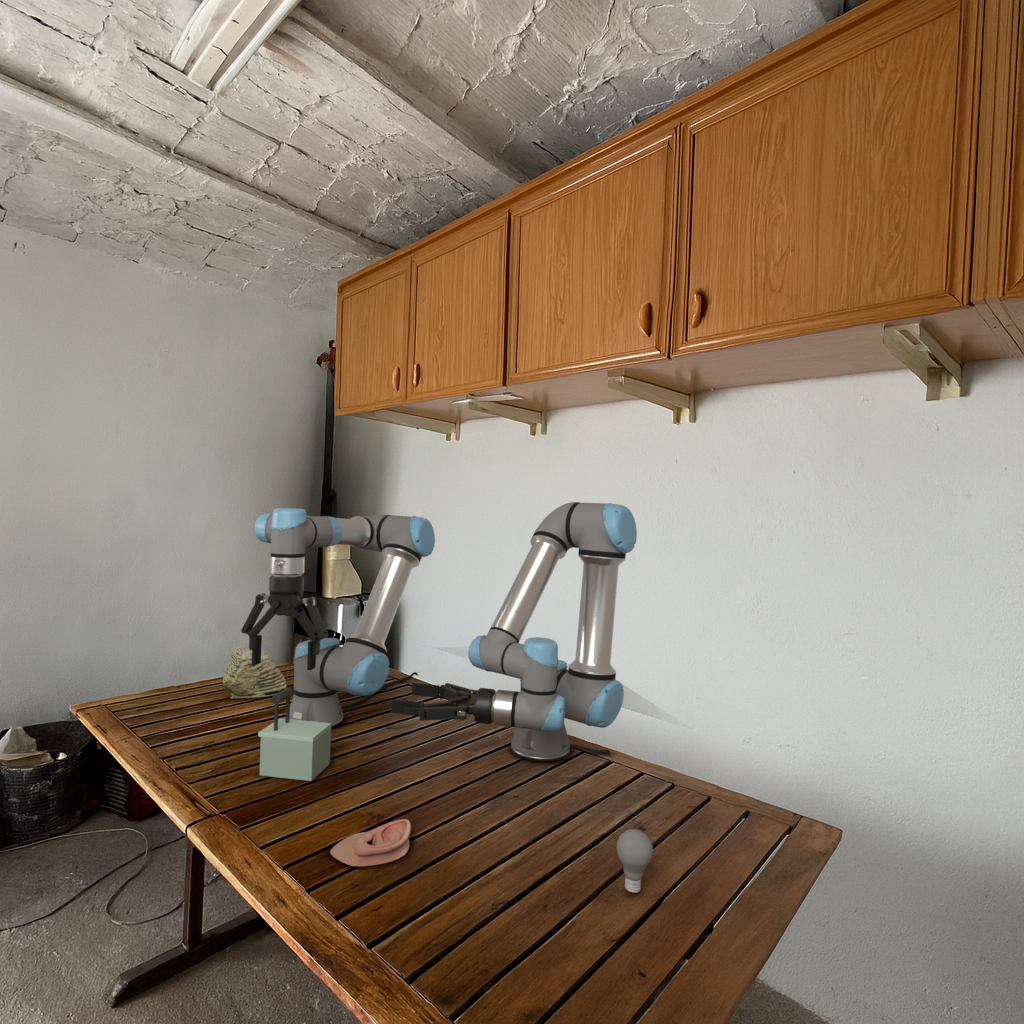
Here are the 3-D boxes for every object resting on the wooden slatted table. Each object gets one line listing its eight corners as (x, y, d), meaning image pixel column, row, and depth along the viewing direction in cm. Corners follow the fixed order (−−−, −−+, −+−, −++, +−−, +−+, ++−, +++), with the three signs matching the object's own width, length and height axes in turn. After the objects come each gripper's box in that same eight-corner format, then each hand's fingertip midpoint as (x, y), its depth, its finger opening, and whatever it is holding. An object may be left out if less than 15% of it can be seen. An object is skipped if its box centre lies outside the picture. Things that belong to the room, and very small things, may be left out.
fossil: (218, 695, 195) (220, 647, 195) (278, 685, 208) (279, 640, 207) (228, 703, 189) (230, 653, 188) (289, 692, 201) (290, 645, 201)
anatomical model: (322, 838, 110) (352, 807, 121) (321, 861, 110) (351, 828, 121) (394, 850, 107) (417, 817, 119) (393, 873, 107) (416, 838, 119)
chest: (259, 775, 142) (260, 737, 142) (280, 758, 152) (282, 722, 152) (311, 781, 141) (312, 742, 141) (329, 763, 150) (331, 727, 150)
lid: (258, 736, 142) (259, 696, 142) (279, 722, 152) (281, 684, 152) (312, 742, 141) (314, 701, 140) (331, 727, 150) (332, 688, 150)
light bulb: (610, 879, 108) (613, 822, 108) (644, 879, 109) (647, 822, 109) (619, 902, 102) (622, 840, 102) (655, 901, 103) (658, 840, 103)
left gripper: (227, 573, 144) (224, 666, 144) (331, 580, 140) (327, 675, 141) (245, 570, 152) (242, 658, 152) (345, 576, 148) (341, 666, 148)
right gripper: (481, 744, 127) (381, 732, 131) (503, 706, 152) (418, 697, 155) (483, 707, 127) (382, 696, 131) (505, 675, 152) (420, 667, 155)
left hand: (283, 666), depth 146 cm, fingers open, 13 cm apart
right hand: (402, 697), depth 143 cm, fingers open, 13 cm apart
